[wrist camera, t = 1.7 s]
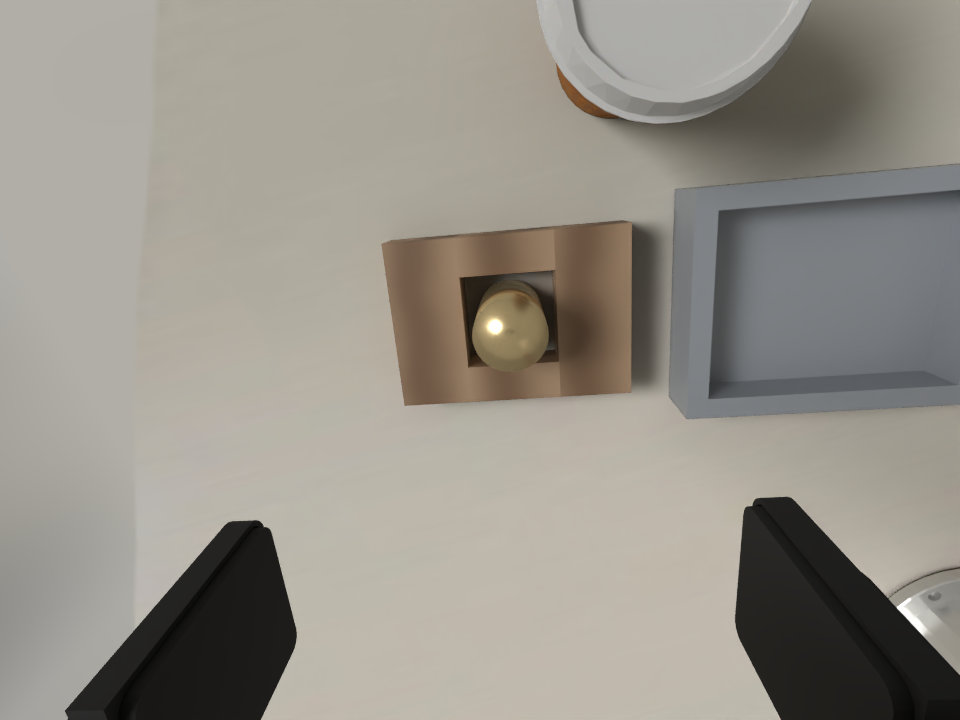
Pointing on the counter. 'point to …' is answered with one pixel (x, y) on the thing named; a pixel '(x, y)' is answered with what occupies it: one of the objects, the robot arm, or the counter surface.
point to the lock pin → (510, 327)
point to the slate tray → (817, 294)
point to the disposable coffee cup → (665, 52)
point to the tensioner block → (563, 249)
